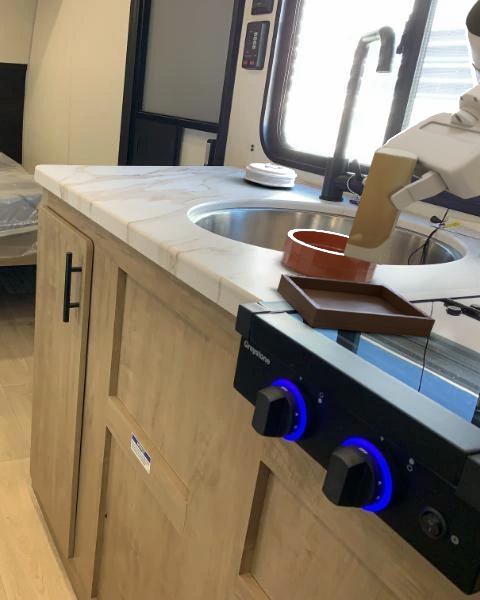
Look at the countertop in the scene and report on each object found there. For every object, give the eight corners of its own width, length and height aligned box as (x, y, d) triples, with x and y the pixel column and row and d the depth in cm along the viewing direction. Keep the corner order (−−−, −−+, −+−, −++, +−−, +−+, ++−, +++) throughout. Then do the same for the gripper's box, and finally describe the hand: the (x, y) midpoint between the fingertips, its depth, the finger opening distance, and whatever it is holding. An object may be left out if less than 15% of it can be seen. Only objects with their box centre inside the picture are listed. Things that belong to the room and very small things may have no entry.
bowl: (346, 261, 95) (354, 234, 93) (388, 291, 83) (398, 261, 82) (268, 253, 94) (275, 225, 92) (299, 282, 82) (308, 251, 80)
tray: (380, 300, 79) (385, 284, 78) (429, 338, 69) (436, 320, 68) (277, 290, 78) (281, 273, 77) (311, 327, 68) (316, 308, 67)
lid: (302, 192, 149) (307, 172, 147) (254, 187, 147) (259, 167, 145) (279, 181, 160) (284, 162, 158) (235, 177, 158) (239, 158, 156)
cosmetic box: (349, 245, 75) (380, 146, 70) (387, 254, 73) (421, 152, 68) (341, 256, 69) (373, 149, 65) (381, 266, 67) (417, 157, 63)
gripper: (442, 89, 73) (338, 158, 77) (543, 99, 54) (398, 191, 58) (467, 131, 74) (363, 197, 79) (573, 156, 55) (429, 241, 60)
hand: (378, 195), depth 68 cm, fingers closed on cosmetic box, 7 cm apart
